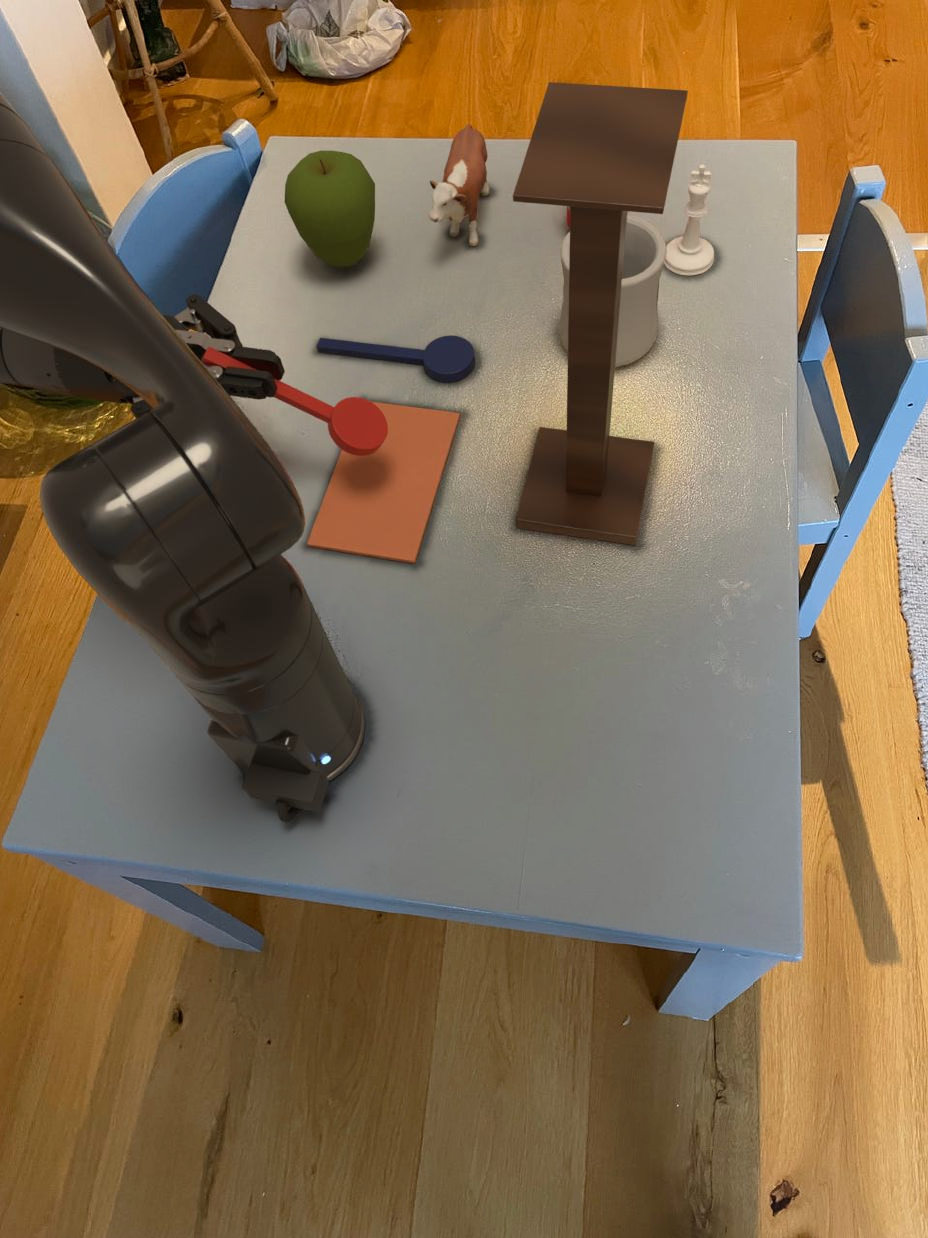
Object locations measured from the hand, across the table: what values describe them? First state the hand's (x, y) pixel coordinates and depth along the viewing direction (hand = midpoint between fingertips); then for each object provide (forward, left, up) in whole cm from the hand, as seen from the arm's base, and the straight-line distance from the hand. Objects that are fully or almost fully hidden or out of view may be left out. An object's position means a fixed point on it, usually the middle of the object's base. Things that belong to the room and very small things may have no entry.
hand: (276, 376), depth 73 cm
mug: (+21, -22, -12) cm, 33 cm away
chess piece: (+31, -29, -12) cm, 44 cm away
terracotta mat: (0, -7, -12) cm, 14 cm away
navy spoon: (+14, -4, -12) cm, 19 cm away
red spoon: (0, -1, -3) cm, 3 cm away
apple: (+26, +5, -12) cm, 29 cm away
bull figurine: (+33, -6, -12) cm, 36 cm away
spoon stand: (+2, -24, -12) cm, 27 cm away
